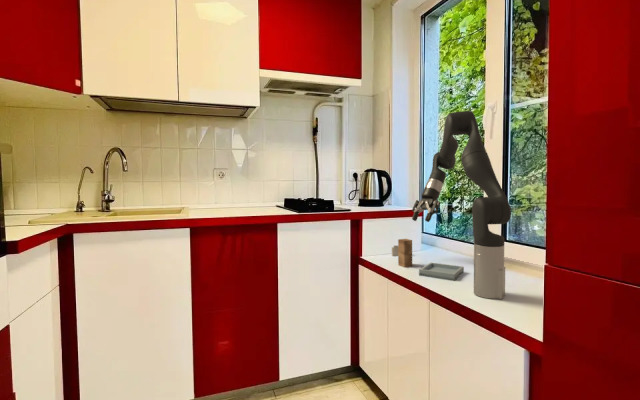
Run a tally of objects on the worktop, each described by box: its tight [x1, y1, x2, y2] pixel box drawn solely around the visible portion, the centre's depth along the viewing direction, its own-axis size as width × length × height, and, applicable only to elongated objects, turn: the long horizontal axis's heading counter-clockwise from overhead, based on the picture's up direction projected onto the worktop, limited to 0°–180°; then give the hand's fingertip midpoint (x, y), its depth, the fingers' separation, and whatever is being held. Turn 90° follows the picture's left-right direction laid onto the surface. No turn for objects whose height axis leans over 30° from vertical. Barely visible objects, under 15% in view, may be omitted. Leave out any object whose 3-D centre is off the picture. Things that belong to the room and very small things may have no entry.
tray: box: [418, 262, 465, 282], centre depth 144 cm, size 14×14×2 cm
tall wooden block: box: [397, 238, 413, 268], centre depth 158 cm, size 4×4×12 cm
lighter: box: [391, 244, 398, 257], centre depth 179 cm, size 7×2×8 cm, turn 96°
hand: (420, 220), depth 162 cm, fingers open, 8 cm apart
